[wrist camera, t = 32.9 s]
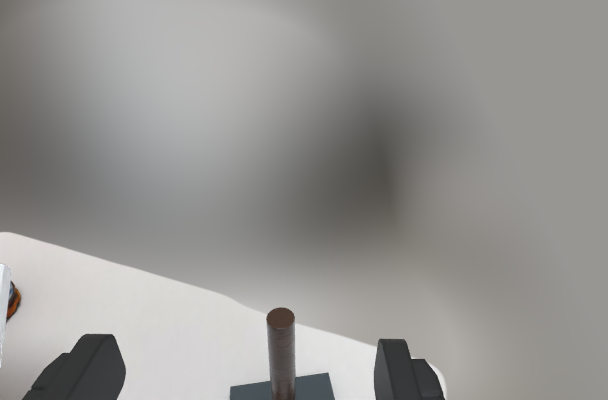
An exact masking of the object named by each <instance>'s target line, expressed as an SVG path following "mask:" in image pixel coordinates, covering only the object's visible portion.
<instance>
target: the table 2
mask: <svg viewBox="0 0 608 400" xmlns="http://www.w3.org/2000/svg"><path fill="white" fill-rule="evenodd" d="M11 272H12V269H11V268H10V267H8V266H6V265H5V264H0V368H1V360H2V351H3V343H4V334H5V325H6V316H7V308H8V299H9V290H10V281H11Z"/></svg>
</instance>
